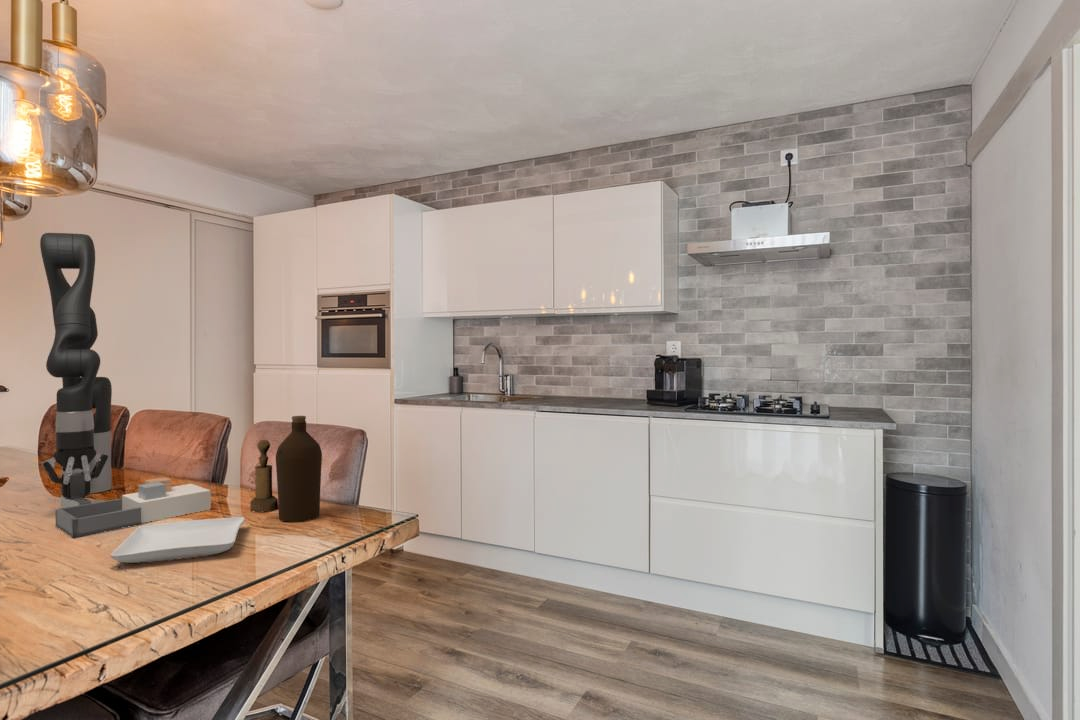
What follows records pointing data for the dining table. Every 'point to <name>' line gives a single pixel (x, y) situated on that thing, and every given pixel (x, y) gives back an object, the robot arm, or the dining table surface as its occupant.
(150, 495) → the pale grey box
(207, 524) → the salad plate
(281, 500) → the olive oil
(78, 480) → the scraper
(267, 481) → the brown chess piece
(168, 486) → the tan block
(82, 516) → the box
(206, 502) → the long rectangular box
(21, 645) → the dining table surface
